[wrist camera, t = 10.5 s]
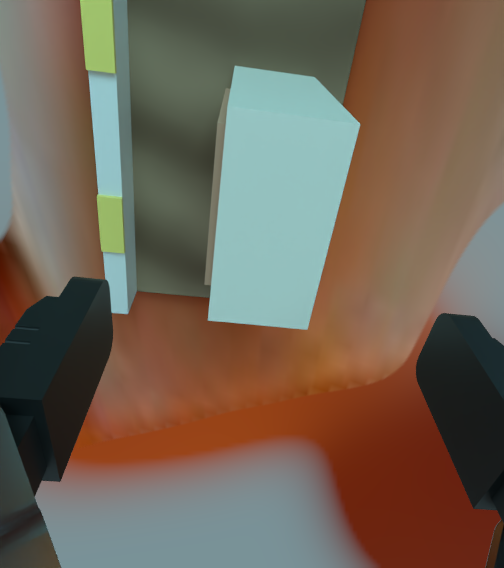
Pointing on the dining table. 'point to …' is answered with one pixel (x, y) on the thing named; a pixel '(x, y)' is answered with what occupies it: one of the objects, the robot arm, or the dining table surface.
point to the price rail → (112, 142)
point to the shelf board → (209, 108)
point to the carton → (274, 196)
